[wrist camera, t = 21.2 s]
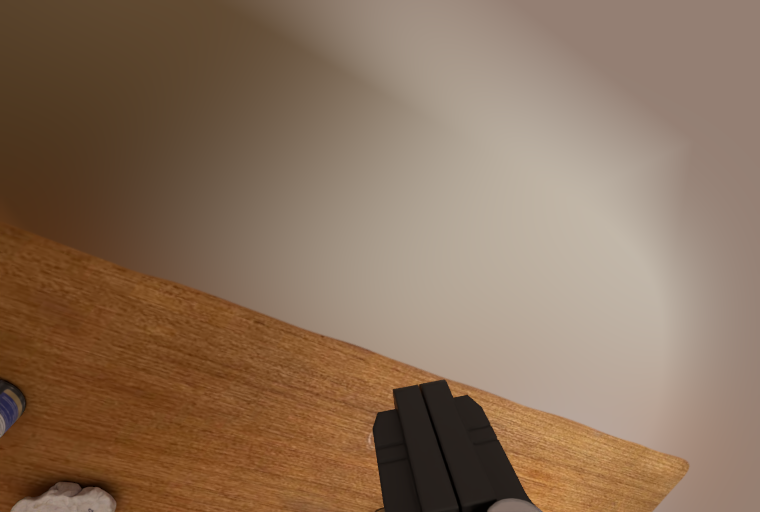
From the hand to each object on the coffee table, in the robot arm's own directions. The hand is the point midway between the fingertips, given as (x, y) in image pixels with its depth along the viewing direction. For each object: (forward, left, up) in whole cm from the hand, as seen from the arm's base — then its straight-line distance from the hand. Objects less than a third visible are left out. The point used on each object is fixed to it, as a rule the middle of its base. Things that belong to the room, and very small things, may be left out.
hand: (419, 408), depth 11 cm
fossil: (+30, -41, -29) cm, 59 cm away
